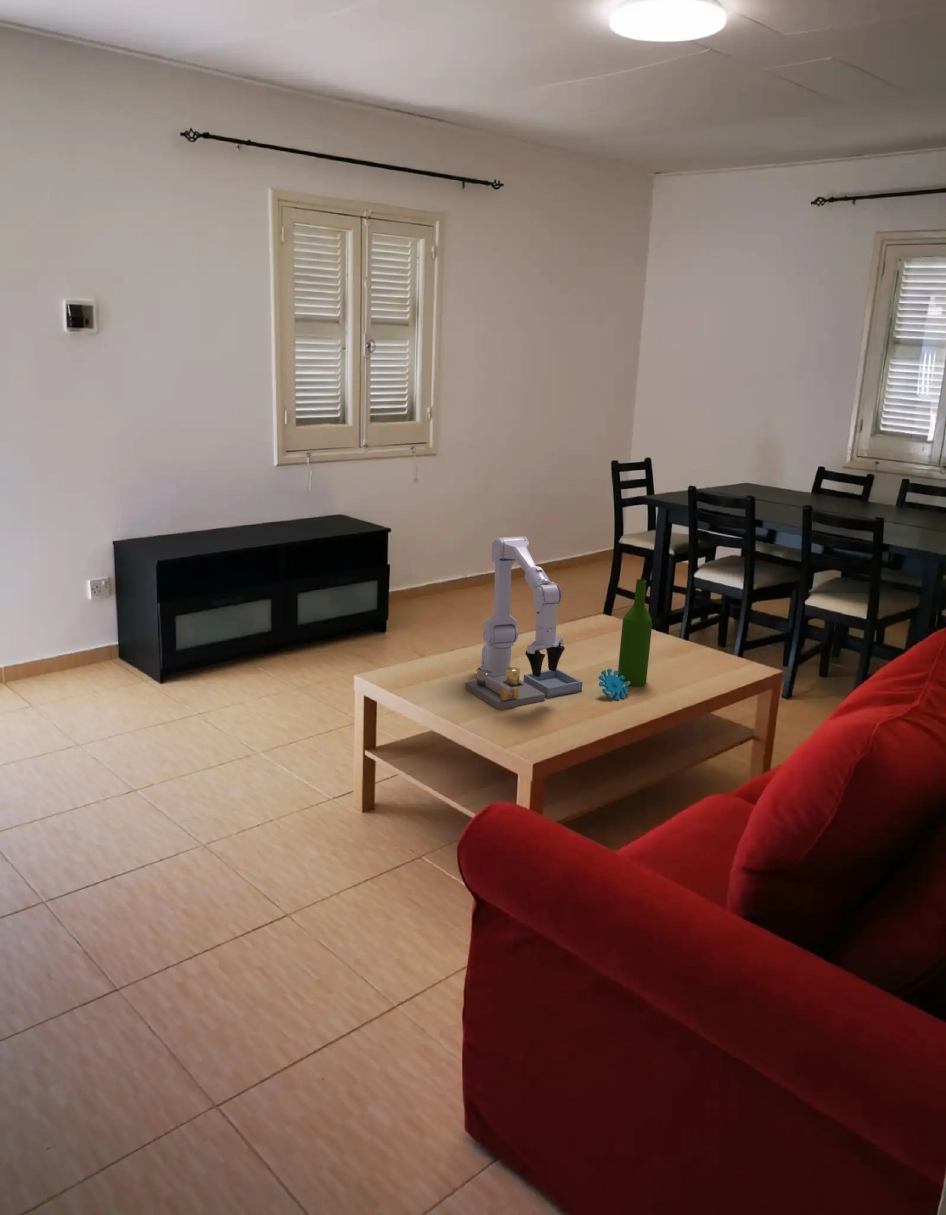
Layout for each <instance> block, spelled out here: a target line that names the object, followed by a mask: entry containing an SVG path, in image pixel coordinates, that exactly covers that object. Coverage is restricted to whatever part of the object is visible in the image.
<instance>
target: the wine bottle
mask: <svg viewBox="0 0 946 1215" xmlns="http://www.w3.org/2000/svg"><path fill="white" fill-rule="evenodd" d="M646 587H647V580H646V579H643V578H638V579H636V582H635V589H634V590H635V592H634V600H633V603H632V606H631V607H630V608H629V609H628V610H627V611H626V613H625V614H624V616H623V618H622V621H621V622H622V623H621V624H622V625H621V634H620V644H619V645H620V647H619V654H618V656H619V657H618V666H617V671H618V672H619V674H617V675H616V677H620V676H621V675H623V676H624V678H625V679H623V680H620V681H622V682H627V681H630V684H629V685H628V686H627V687H634V688H635V687H638V688H639V687H643V686H645V685H646V683H647V680H648V678H647V677H648V668H649V661H650V660H649V657H650V648H651V638H652V631H653V630H652V629H653V621H652V616H651V615H650V613H649V611H648V609H647V607H646V605H645V603H646V602H645V601H646Z"/></svg>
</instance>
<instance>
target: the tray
mask: <svg viewBox="0 0 946 1215" xmlns="http://www.w3.org/2000/svg"><path fill="white" fill-rule="evenodd" d="M522 681H523V682H525V683H527V684H528V685H530V686H532V687H534V688H535V689H537V690H539V691H541V692H542V693H544V694H545V698H547V699H549V698H554V697H559V695H560V696H563V695H569V694H574V693H575V694H576V693H579V691H580V692H582V691H583V681H582V680H580V679H578V678H576V677H574V676H572V675H570V674H568V673H567V672H564V671H562V670H561V669H559V668H557V669H556V671H551V670H549V669H547V670H543V671H542V670H541V675H540V677H536V676H533V673H531V672H530V673H526V674H523V680H522Z"/></svg>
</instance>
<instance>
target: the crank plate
mask: <svg viewBox="0 0 946 1215" xmlns="http://www.w3.org/2000/svg"><path fill="white" fill-rule="evenodd" d="M493 677H494V676H493ZM494 678H496V679H498V680H500V681H501V682H503V683H505V684H506V675H504V676H498V677H494ZM517 687H518V688H519V698H514V699H509V700H502V699H500V694H498V693H496V692H495V691H493V690H491V689H490V688H488V687H486V686H480V685H478V684H477V679H475V680H470V681H466V682H465V689H466V690H467V691H469V692H470V693H472V694H474V695H475V696H476V697H478V698H480V699H481V700H483V701H484V702H485V703H487V704H489V705H491V706H492V707H494V708H495V709H497V710H505V709H508V708H514V707H519V706H523V705H529V704H533V703H539V702H545V700H546V697H545V694H544V693H542V692H541V691H539V690H537V689H535V688H534V687H532V686H530V685H528V684H527V683H525V682H523V680H522V679H520V678H519V686H517Z"/></svg>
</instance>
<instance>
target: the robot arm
mask: <svg viewBox="0 0 946 1215" xmlns="http://www.w3.org/2000/svg"><path fill="white" fill-rule="evenodd" d="M530 546H531V545H530V542H529V540H528V538H527V536H525V535H521V536H507V537H506V536H505V537H499V536H498V537H496V538H495V539H494V540H492V542H491V562H492V563H494V589H493V590H494V595H493V613H492V614H491V615H490V616H489V617H487V618H486V619H485V620H484V626H483V627H484V628H483V630H482V638H483V641H484V644H483V646H482V648H481V662H480V663H481V665H479V666H478V668H479V669H480V670H489V671H491V672H492V676H493V677H498V676H504V675H506V669H507V668H509V667H511V661H512V660H511V658H512V647H513V646H514V643H516V642H517V640H518V639H519V638H518V637H519V629H518V623H517V622H518V621H517V620H516V618H514V617H513V616H512V615H511V600H512V599H511V597H512V596H511V594H512V566H513V565H514V564H515V563H517V564H518V565H519V567H520V568H521V569H522V570H523V572H524V573H525V574H524V580H525V581H526V583H527V584H528V586H529V588H530V589H531V590H532V599H533V603H534V604H533V605H534V610H535V612H536V614H535V615H536V616H535V620H536V621H535V638H534V639H535V641H533V642H532V643H530V644H529V645H527V648H526V650H525V656H526V657H527V660H528V661H529V665H530V670H531V672H532V673H533V676H536V677H540V675H541V671H542V666H543V662H544V659H545V657H546V655H547V667H548V670H551V671H556V669H558V665H559V663H560V662H559V661H560V659H561V657H562V655H563V653H564V651H565V650H566V649H565V646H564V645H563V644H564V637H560V636H557V618H558V614H557V612H558V604H560V603H561V600H562V590H561V587H560V585H559V584H558V583H555V582H554V581H551V580H550V578H549V577H548V575H547V573H546V572H545V570H544V569H543V568H542V567H540V566H537V565H536V562H535V560H534V559H533V557H532V555H531V553H530ZM543 650H546V654H544V653H542V652H541V651H543Z"/></svg>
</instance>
